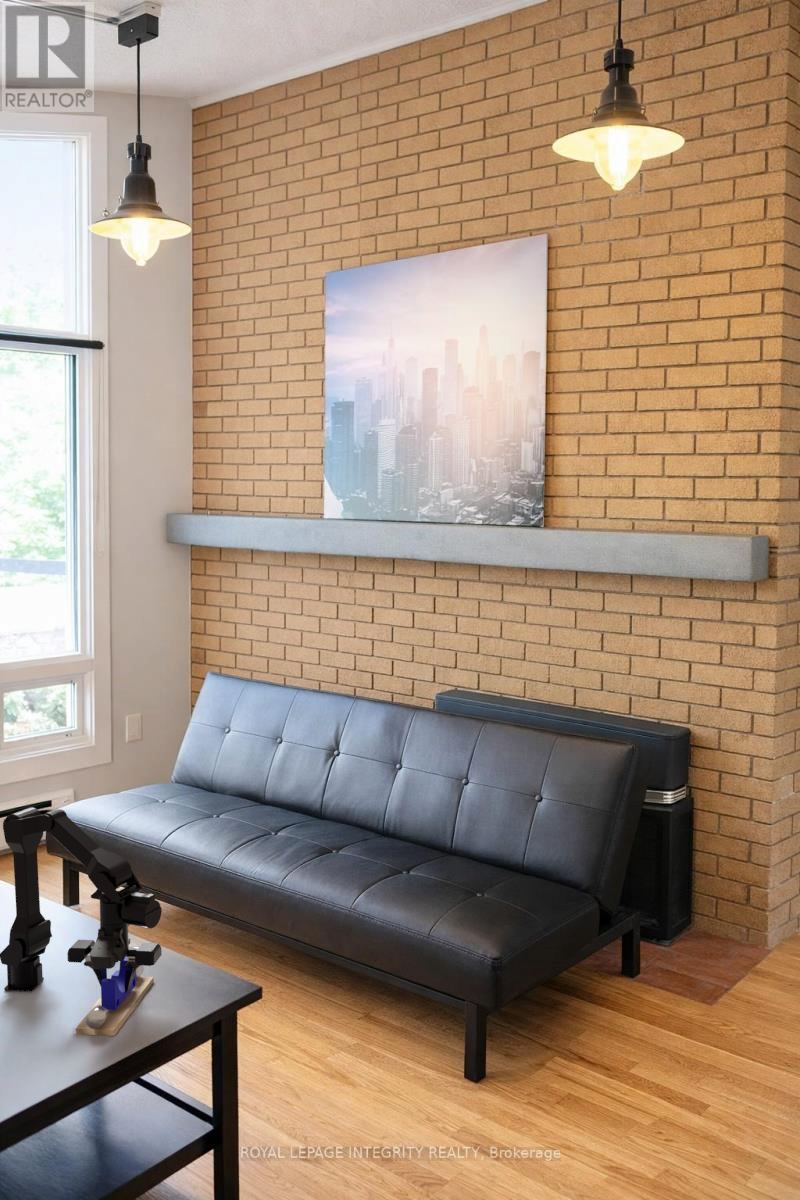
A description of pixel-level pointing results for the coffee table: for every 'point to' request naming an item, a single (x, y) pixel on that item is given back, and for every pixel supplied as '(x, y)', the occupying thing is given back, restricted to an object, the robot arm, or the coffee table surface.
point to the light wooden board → (118, 1010)
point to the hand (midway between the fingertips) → (115, 991)
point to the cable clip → (115, 988)
